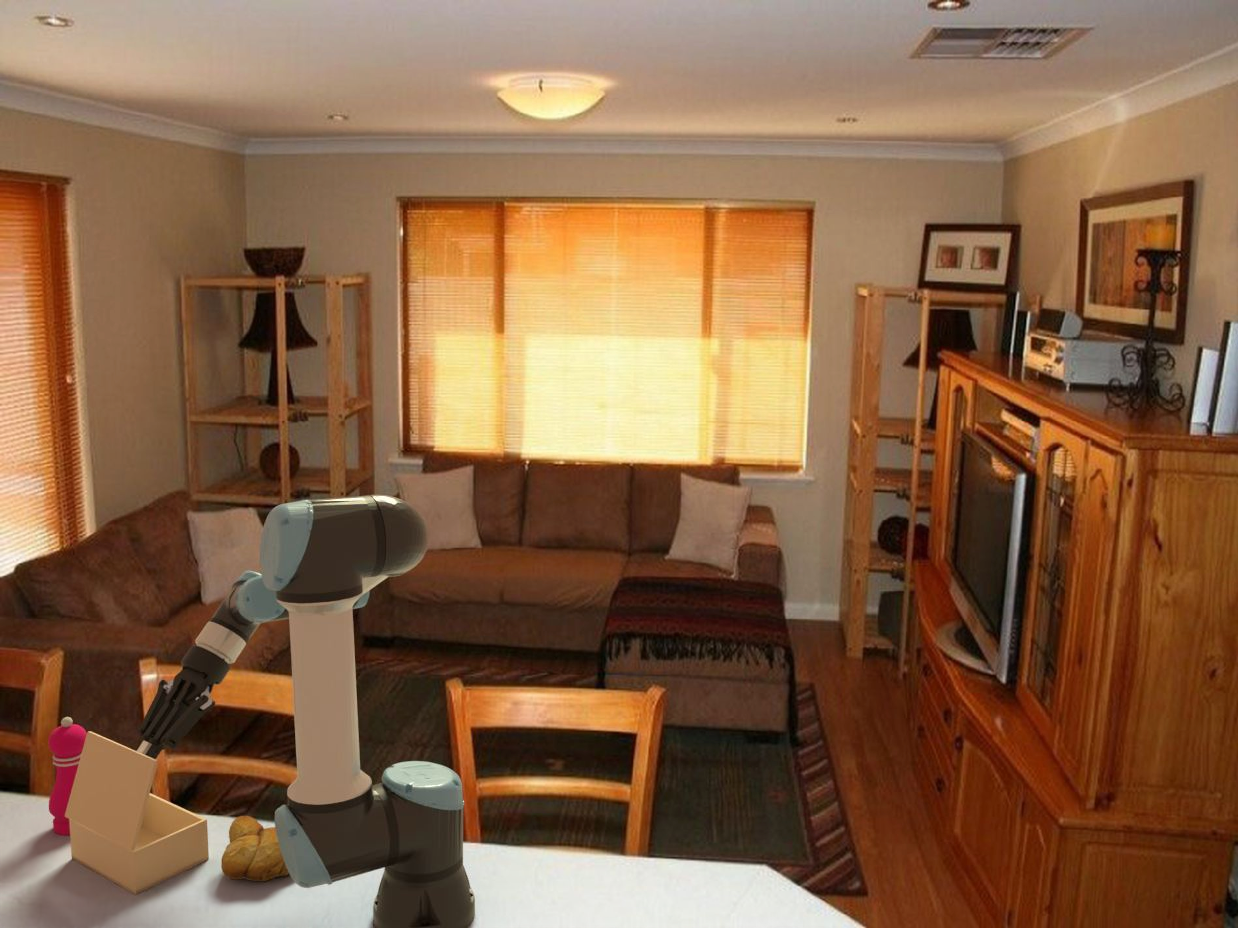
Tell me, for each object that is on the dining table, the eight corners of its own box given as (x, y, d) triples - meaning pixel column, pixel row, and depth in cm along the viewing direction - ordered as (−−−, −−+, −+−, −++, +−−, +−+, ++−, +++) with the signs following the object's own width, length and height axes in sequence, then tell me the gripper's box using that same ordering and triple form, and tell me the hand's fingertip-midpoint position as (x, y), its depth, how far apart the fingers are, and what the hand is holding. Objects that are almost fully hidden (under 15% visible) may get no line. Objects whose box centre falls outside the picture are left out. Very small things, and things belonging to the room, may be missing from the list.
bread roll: (312, 860, 179) (311, 815, 177) (286, 892, 169) (285, 845, 168) (239, 853, 180) (237, 808, 179) (209, 884, 171) (207, 837, 170)
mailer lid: (159, 760, 168) (154, 760, 168) (135, 850, 166) (130, 850, 166) (91, 731, 178) (87, 731, 178) (68, 815, 177) (64, 816, 176)
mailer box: (208, 858, 178) (207, 819, 177) (135, 894, 168) (133, 852, 167) (144, 827, 188) (142, 789, 187) (71, 858, 178) (69, 818, 176)
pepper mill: (105, 818, 191) (99, 711, 188) (78, 838, 184) (71, 727, 181) (69, 814, 192) (61, 707, 189) (40, 834, 185) (32, 723, 182)
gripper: (250, 673, 185) (167, 801, 174) (203, 657, 192) (120, 779, 181) (222, 651, 180) (134, 783, 169) (175, 636, 187) (88, 761, 176)
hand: (127, 781), depth 175 cm, fingers closed
